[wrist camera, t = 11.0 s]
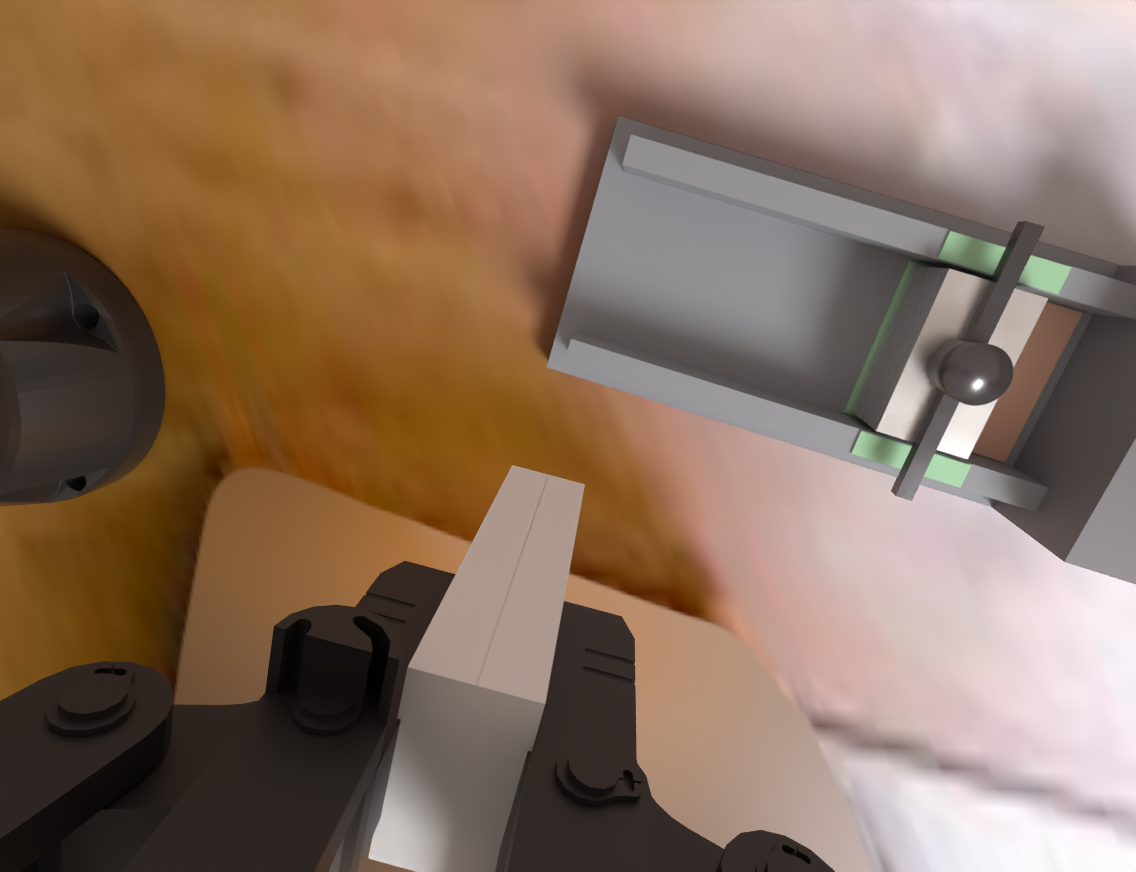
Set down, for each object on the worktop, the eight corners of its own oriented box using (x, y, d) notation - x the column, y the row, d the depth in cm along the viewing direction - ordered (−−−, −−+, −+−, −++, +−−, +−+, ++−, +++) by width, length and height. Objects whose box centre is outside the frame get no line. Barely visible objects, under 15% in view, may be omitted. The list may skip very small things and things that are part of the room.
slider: (830, 452, 33) (867, 493, 27) (933, 214, 29) (999, 206, 24) (909, 477, 33) (962, 523, 27) (1022, 241, 29) (1108, 238, 24)
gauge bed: (550, 363, 35) (525, 391, 28) (619, 120, 31) (610, 83, 24) (1037, 516, 34) (1137, 584, 27) (1166, 284, 30) (1317, 294, 23)
